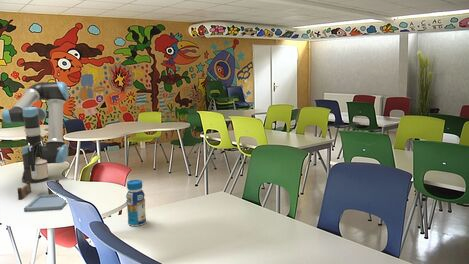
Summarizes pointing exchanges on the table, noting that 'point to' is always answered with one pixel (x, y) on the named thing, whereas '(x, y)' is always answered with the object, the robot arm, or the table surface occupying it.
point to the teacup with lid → (41, 168)
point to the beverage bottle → (135, 203)
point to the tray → (46, 203)
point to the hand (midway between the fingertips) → (37, 173)
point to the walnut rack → (29, 190)
